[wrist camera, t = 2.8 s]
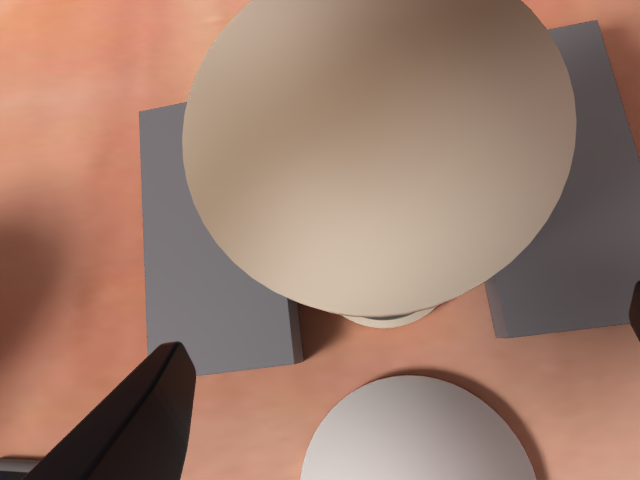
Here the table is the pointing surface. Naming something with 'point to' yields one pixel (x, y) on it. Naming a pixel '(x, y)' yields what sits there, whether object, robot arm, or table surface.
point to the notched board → (502, 288)
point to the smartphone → (15, 468)
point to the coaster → (414, 436)
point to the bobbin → (378, 148)
